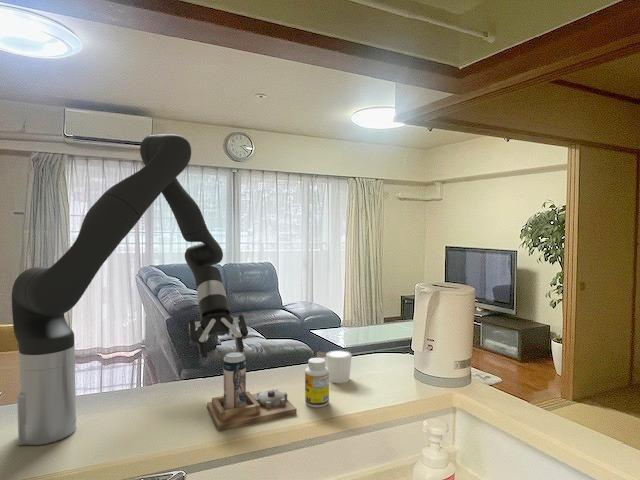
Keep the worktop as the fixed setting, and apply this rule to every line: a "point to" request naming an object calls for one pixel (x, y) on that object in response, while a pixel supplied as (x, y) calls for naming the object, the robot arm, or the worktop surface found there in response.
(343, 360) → the white cup
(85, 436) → the worktop surface
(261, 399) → the gear board
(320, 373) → the supplement bottle
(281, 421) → the worktop surface
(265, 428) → the worktop surface
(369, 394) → the worktop surface
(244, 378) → the beer can
